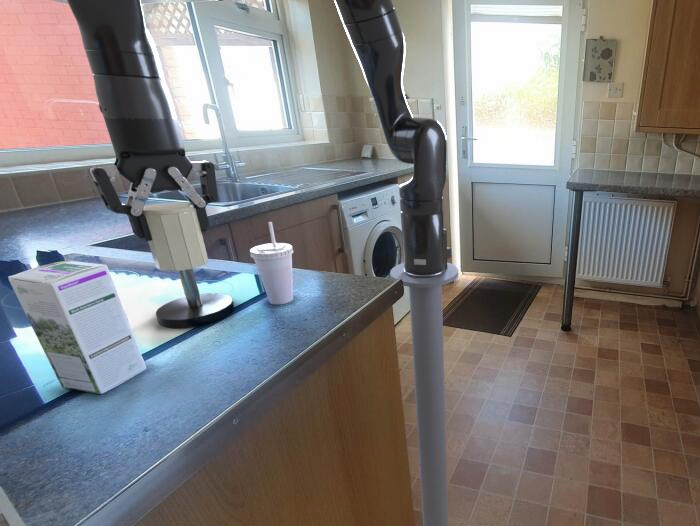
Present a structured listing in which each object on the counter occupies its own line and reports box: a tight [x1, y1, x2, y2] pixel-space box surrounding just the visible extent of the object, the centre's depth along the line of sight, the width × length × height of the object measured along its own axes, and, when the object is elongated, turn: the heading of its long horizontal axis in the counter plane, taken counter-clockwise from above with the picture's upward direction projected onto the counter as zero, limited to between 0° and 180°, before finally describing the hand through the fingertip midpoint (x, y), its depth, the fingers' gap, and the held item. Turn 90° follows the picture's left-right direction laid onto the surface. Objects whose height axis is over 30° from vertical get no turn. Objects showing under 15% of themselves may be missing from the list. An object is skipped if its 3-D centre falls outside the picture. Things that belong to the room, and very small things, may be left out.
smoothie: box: [249, 221, 294, 306], centre depth 70 cm, size 6×6×14 cm
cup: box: [142, 201, 209, 272], centre depth 61 cm, size 6×6×9 cm
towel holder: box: [155, 268, 235, 329], centre depth 63 cm, size 10×10×17 cm
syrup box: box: [7, 260, 147, 395], centre depth 47 cm, size 6×6×14 cm
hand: (175, 235), depth 61 cm, fingers closed on cup, 6 cm apart
